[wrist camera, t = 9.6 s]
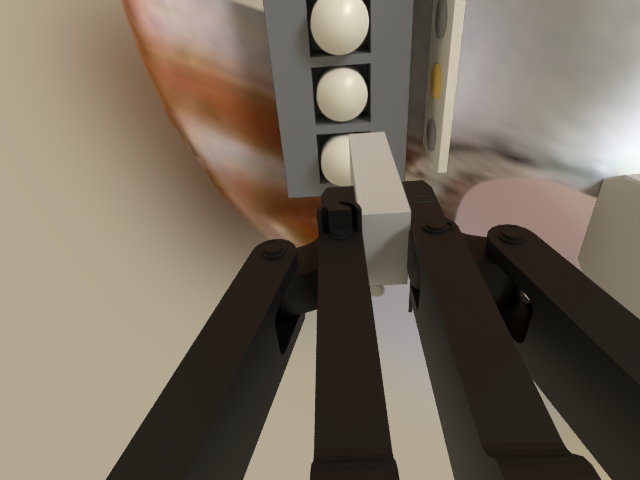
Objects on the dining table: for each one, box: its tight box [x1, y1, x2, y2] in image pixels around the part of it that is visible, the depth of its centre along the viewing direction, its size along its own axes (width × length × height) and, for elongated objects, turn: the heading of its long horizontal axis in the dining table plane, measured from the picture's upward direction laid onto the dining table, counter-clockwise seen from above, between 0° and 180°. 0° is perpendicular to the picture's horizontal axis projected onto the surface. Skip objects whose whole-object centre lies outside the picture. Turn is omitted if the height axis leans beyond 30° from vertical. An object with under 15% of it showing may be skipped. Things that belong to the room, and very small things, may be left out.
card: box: [423, 0, 466, 173], centre depth 36 cm, size 20×1×7 cm, turn 4°
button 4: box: [321, 132, 356, 186], centre depth 40 cm, size 5×5×3 cm
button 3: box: [317, 65, 368, 122], centre depth 38 cm, size 5×5×3 cm
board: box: [263, 0, 414, 198], centre depth 37 cm, size 26×12×4 cm, turn 4°
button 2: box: [311, 0, 369, 55], centre depth 33 cm, size 5×5×3 cm
